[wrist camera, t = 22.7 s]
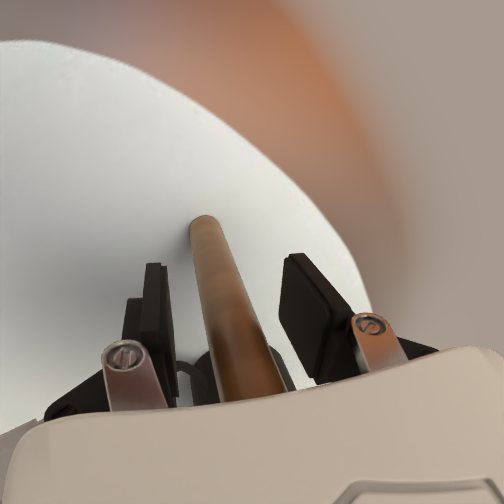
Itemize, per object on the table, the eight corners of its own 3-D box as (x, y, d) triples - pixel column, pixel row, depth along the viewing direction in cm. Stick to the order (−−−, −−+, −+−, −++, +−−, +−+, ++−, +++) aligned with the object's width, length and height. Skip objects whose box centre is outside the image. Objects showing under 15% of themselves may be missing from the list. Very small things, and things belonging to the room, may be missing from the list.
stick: (190, 214, 19) (232, 415, 7) (222, 215, 19) (308, 405, 7) (188, 243, 20) (225, 451, 8) (218, 245, 20) (290, 442, 8)
